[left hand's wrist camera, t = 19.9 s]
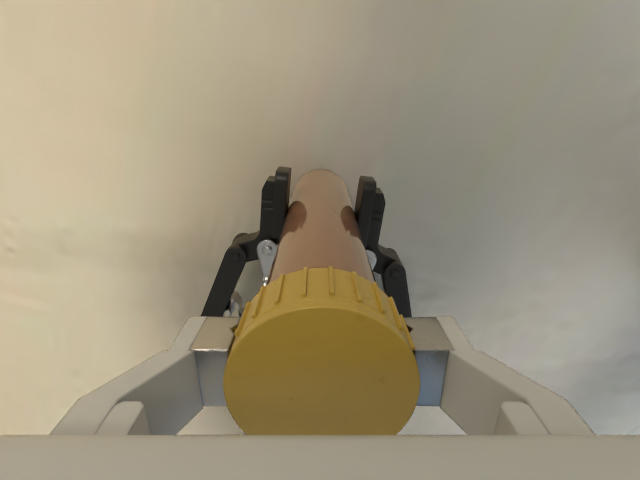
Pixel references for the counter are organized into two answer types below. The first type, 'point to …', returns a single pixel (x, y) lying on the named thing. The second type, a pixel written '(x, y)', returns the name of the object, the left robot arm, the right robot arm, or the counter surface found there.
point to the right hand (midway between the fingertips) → (325, 175)
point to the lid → (321, 359)
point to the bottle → (320, 230)
